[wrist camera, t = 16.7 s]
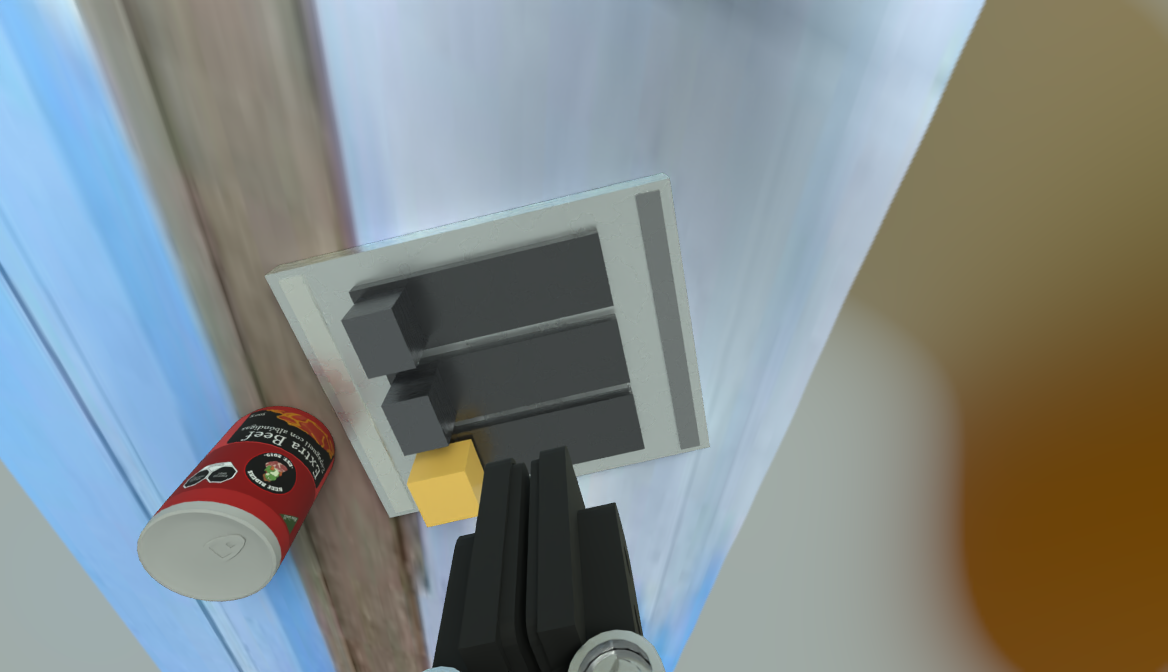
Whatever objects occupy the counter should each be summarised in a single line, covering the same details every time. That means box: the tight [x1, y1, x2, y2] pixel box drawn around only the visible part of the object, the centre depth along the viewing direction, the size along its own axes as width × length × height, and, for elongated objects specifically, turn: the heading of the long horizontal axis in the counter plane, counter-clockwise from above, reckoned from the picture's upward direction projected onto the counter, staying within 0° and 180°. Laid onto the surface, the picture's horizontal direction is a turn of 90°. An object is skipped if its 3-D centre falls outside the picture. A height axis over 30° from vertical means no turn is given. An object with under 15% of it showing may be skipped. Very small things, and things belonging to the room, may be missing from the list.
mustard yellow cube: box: [407, 439, 484, 527], centre depth 39 cm, size 4×4×4 cm
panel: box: [265, 173, 710, 518], centre depth 37 cm, size 26×21×6 cm
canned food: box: [137, 406, 335, 601], centre depth 37 cm, size 8×8×11 cm
